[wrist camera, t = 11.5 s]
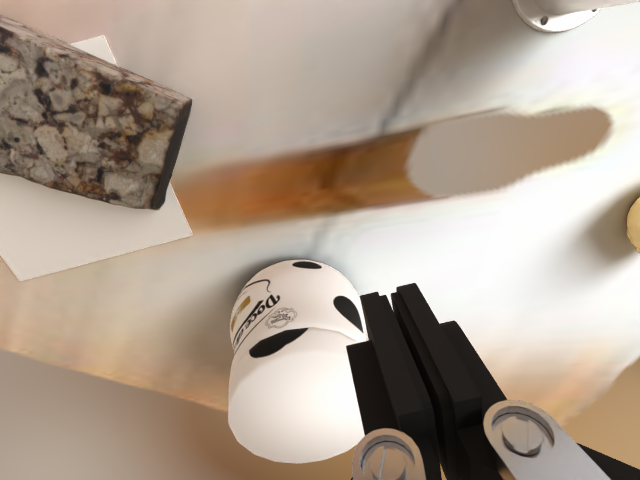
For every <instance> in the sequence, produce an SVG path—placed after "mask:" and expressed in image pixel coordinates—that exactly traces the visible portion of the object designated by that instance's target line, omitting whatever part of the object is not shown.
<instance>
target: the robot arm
mask: <svg viewBox="0 0 640 480" xmlns="http://www.w3.org/2000/svg"><path fill="white" fill-rule="evenodd" d="M512 2H513V5H514V7H515V9H516V11H517V13H518V14H519V16H520V17H521V18H522V19H523V21H524V22H525V23H527V24H528V25H529V26H531V27H532V28H534V29H537V30H539V31H543V32H562V31H566V30H570V29H573V28H575V27H578V26H580V25H582V24H584V23H585V22H587V21H588V20H589V19H591V18H592V17H594V16H595V15H596V14H597V13H598V12H599V11H600V10H601V9H602V8H606V7H612V6H617V5H623V4H629V3H635V2H640V0H512ZM541 18H542V20H543V21H542V23H541V24H540V20H541ZM396 290H397V292H395V293H391V299H392V305H393V310H392V308H391V305H390V303H389V301H388V298H387V296H386V295H383V296H379V294H378V292H374V293H370V294H366V295H361V296H360V300H361V305H362V310H363V314H364V319H365V324H366V328H367V333H368V338H369V341H364V342H360V343H356V344H352V345H347V346H346V349H347V354H348V359H349V364H350V368H351V373H352V378H353V383H354V387H355V392H356V397H357V401H358V406H359V411H360V416H361V420H362V425H363V430H364V434H365V436H364V437H363V438H362V439H361V441H360V442H359V443H358V445H357V447H356V449H355V451H354V456H353V463H352V464H353V465H352V466H353V477H352V479H351V480H442V478H441V471H440V470H441V469H440V464H441V466H442V469H443V472H444V474H445V477H446V479H447V480H640V470H639V469H637V468H635V467H632V466H630V465H628V464H625V463H623V462H621V461H618V460H616V459H613V458H611V457H609V456H607V455H604V454H602V453H599V452H597V451H595V450H592V449H590V448H588V447H585V446H583V445H581V444H578V443H576V442H575V441H574V440H573V439H572V438H571V437H570V436H569V435H568V434H567V433H566V432H565V431H564V430H563V428H562V427H561V426H560V425H559V424H558V423H557V422H556V421H555V420H554V419H553V418H552V417H551V416H550V415H548V414H547V413H546V412H545V411H544V410H542V409H540V408H539V407H537V406H535V405H533V404H531V403H527V402H524V401H520V400H507V398H506V397H505V395H504V394H503V392H502V391H501V389H500V388H499V386H498V385H497V383H496V382H495V380H494V378H493V377H492V375H491V374H490V372H489V371H488V369H487V368H486V366H485V365H484V363H483V362H482V360H481V358H480V357H479V355H478V354H477V352H476V351H475V349H474V348H473V346H472V345H471V343H470V342H469V340H468V338H467V337H466V335H465V334H464V332H463V331H462V329H461V328H460V326H459V325H458V324H457V322H455V321H450V322H446V323H441V324H439V322H438V321H437V319H436V317H435V315H434V314H433V312H432V310H431V309H430V307H429V305H428V303H427V302H426V300H425V298H424V297H423V295H422V293H421V291H420V290H419V288H418V286H417V285H416V283H412V284H408V285H404V286H399V287H397V289H396ZM393 311H394V312H393Z"/></svg>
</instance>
